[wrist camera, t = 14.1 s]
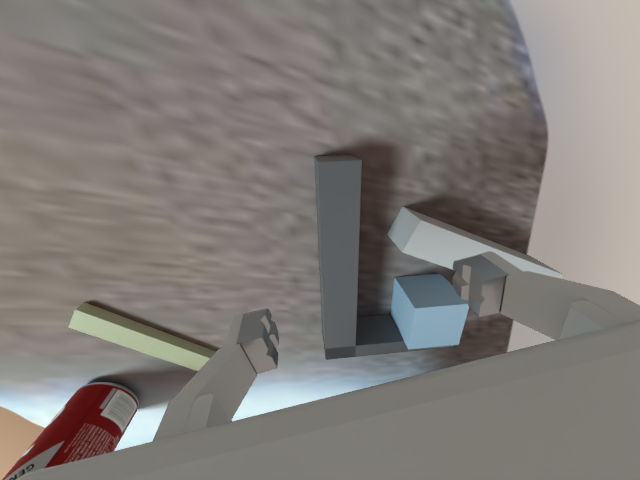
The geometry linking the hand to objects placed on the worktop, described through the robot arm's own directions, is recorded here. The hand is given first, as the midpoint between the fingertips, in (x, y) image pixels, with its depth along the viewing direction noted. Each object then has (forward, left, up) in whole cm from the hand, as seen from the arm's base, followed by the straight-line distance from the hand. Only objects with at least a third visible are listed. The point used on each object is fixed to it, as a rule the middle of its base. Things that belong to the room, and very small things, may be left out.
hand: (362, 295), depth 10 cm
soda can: (+16, -31, -13) cm, 37 cm away
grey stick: (+7, +12, -13) cm, 19 cm away
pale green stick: (+9, -22, -13) cm, 27 cm away
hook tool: (+6, +4, -13) cm, 15 cm away
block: (+12, +7, -13) cm, 19 cm away
